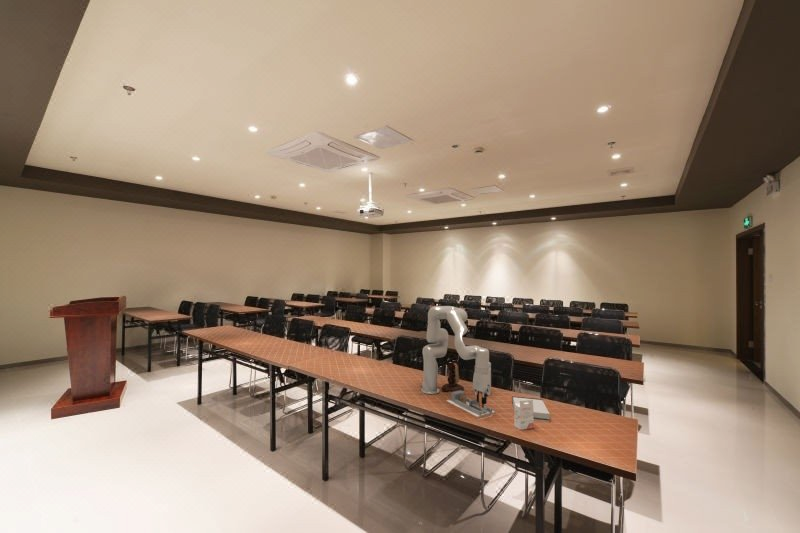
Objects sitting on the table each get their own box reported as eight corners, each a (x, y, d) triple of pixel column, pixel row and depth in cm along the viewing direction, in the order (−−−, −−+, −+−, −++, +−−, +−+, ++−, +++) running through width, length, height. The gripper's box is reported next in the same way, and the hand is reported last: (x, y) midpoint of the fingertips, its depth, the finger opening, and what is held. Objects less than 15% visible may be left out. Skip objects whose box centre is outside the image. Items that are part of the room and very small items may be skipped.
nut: (458, 402, 207) (458, 395, 207) (463, 401, 209) (463, 394, 209) (462, 404, 203) (463, 397, 203) (468, 403, 205) (468, 396, 205)
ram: (469, 408, 197) (469, 389, 197) (477, 406, 200) (477, 387, 200) (479, 413, 189) (480, 393, 190) (488, 411, 193) (488, 392, 193)
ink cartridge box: (527, 424, 181) (527, 396, 181) (533, 428, 176) (534, 399, 177) (513, 426, 178) (514, 397, 179) (519, 430, 174) (519, 401, 174)
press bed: (445, 403, 209) (446, 392, 209) (463, 399, 216) (463, 389, 216) (476, 419, 186) (476, 407, 186) (494, 414, 193) (495, 403, 193)
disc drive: (542, 407, 207) (542, 399, 207) (549, 422, 185) (550, 413, 185) (512, 404, 211) (512, 396, 211) (516, 418, 189) (516, 409, 189)
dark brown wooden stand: (459, 396, 222) (459, 365, 223) (438, 391, 230) (439, 362, 231) (467, 390, 235) (467, 361, 236) (447, 386, 243) (447, 357, 243)
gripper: (467, 367, 199) (466, 399, 198) (487, 374, 184) (487, 409, 184) (476, 366, 202) (476, 397, 202) (497, 373, 188) (497, 406, 188)
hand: (481, 402), depth 193 cm, fingers closed on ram, 3 cm apart
